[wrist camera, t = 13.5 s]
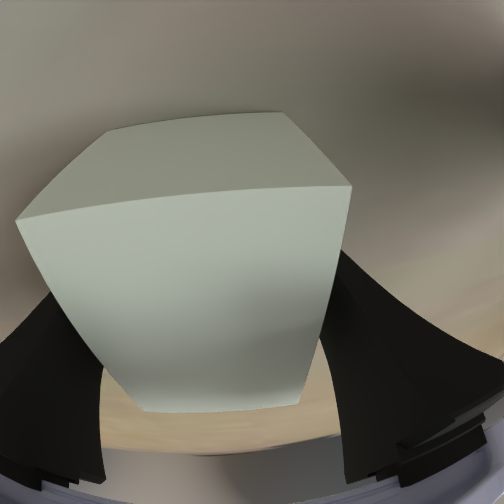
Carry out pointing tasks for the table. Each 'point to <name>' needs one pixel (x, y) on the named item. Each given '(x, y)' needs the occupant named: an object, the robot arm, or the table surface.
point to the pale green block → (195, 257)
